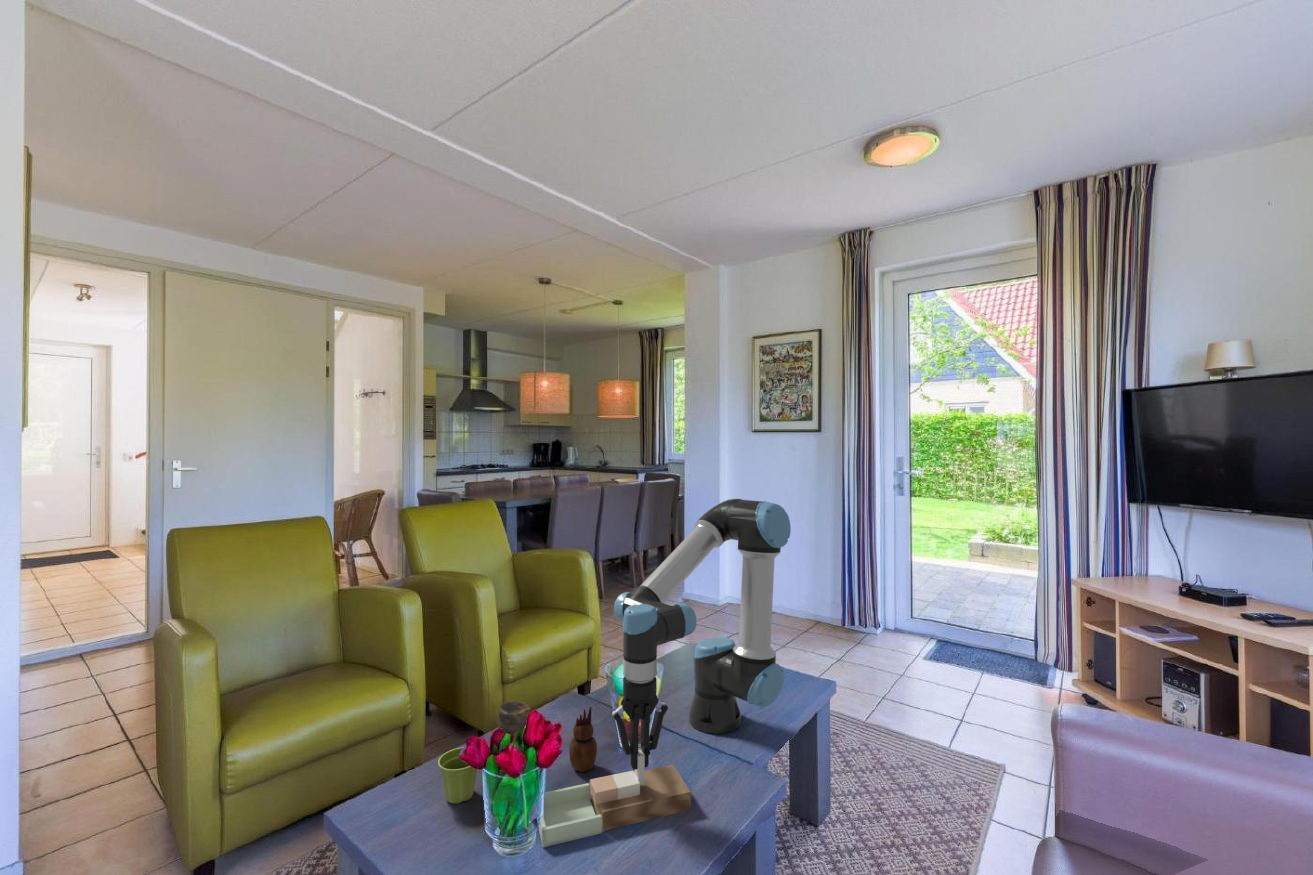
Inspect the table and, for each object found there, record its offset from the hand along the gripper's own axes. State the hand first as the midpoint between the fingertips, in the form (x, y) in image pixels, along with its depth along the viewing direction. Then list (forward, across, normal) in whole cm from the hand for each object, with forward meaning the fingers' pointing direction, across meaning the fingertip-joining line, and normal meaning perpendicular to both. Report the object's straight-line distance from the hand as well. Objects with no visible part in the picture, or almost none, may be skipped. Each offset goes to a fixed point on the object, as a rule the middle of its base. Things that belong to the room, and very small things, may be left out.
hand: (639, 781), depth 127 cm
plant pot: (+6, +38, -17) cm, 42 cm away
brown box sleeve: (+5, 0, 0) cm, 5 cm away
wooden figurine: (+6, +9, -18) cm, 21 cm away
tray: (+5, +16, 0) cm, 17 cm away
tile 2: (+1, +3, 0) cm, 3 cm away
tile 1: (+1, +8, 0) cm, 8 cm away
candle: (+6, +26, -14) cm, 30 cm away
